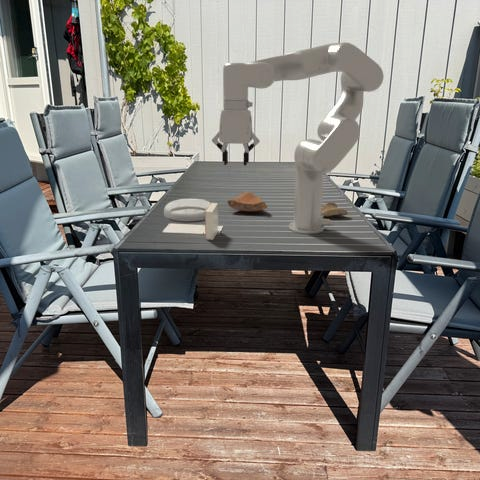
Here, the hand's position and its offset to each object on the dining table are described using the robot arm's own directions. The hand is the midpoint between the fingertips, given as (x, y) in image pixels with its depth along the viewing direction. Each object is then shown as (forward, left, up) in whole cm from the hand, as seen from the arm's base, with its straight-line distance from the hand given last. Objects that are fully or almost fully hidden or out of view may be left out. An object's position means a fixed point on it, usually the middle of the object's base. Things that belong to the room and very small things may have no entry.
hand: (235, 163), depth 147 cm
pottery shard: (-36, -28, -25) cm, 52 cm away
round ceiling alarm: (+22, -25, -28) cm, 44 cm away
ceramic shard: (-9, -32, -24) cm, 41 cm away
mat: (+16, 0, -26) cm, 30 cm away
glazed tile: (+8, 0, -25) cm, 26 cm away
